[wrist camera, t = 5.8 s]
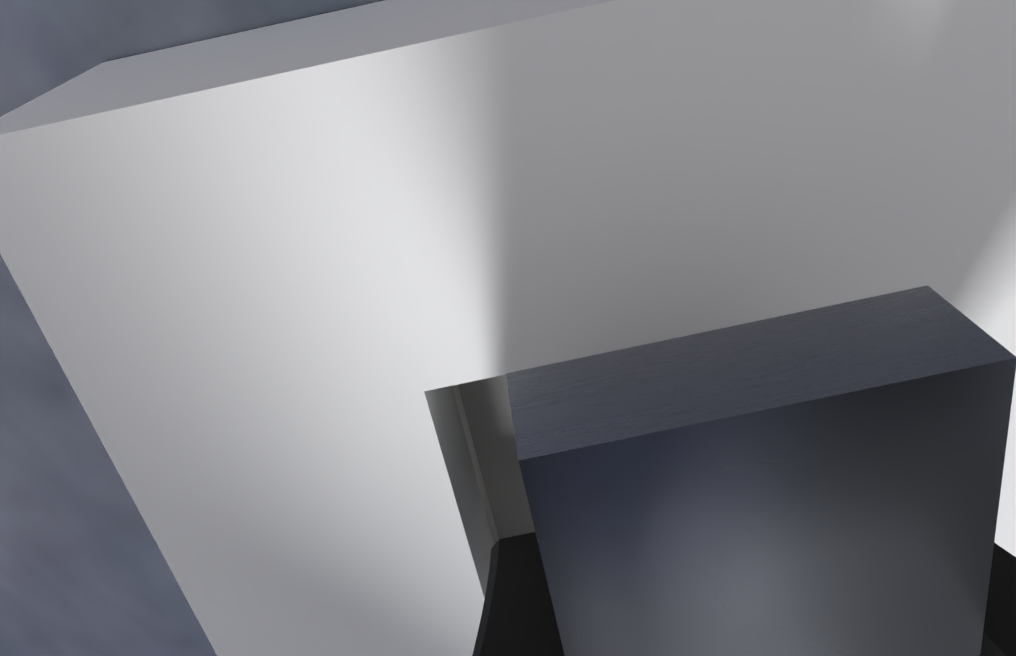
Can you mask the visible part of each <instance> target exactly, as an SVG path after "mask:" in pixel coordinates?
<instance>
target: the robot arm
mask: <svg viewBox="0 0 1016 656" xmlns="http://www.w3.org/2000/svg"><path fill="white" fill-rule="evenodd" d="M472 656H565V655H564V651H563V646H562V642H561V638H560V634H559V629H558V625H557V621H556V617H555V613H554V608H553V604H552V600H551V596H550V592H549V587H548V583H547V579H546V575H545V570H544V566H543V562H542V558H541V554H540V549H539V545H538V541H537V537H536V533H535V532H532V533H527V534H522V535H517V536H512V537H507V538H502V539H499V540H498V541H497V542H496V543H495V545H494V546H493V547H492V548H491V555H490V567H489V575H488V581H487V588H486V594H485V600H484V605H483V610H482V615H481V620H480V624H479V629H478V633H477V638H476V642H475V647H474V651H473V655H472ZM980 656H1016V557H1015V556H1013V555H1012V554H1011V553H1009V552H1008V551H1006V550H1005V549H1003V548H1002V547H1000V546H999V545H997V544H996V543H994V549H993V557H992V565H991V573H990V581H989V589H988V597H987V605H986V613H985V621H984V629H983V637H982V645H981V653H980Z"/></svg>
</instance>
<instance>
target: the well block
mask: <svg viewBox="0 0 1016 656" xmlns="http://www.w3.org/2000/svg"><path fill="white" fill-rule="evenodd" d="M0 254H1V256H2V258H3V260H4V262H5V264H6V266H7V267H8V269H9V271H10V273H11V275H12V277H13V279H14V280H15V282H16V284H17V286H18V288H19V290H20V292H21V293H22V295H23V297H24V299H25V301H26V303H27V304H28V306H29V308H30V310H31V312H32V314H33V316H34V317H35V319H36V321H37V323H38V325H39V327H40V329H41V330H42V332H43V334H44V336H45V338H46V340H47V342H48V343H49V345H50V347H51V349H52V351H53V353H54V355H55V356H56V358H57V360H58V362H59V364H60V366H61V367H62V369H63V371H64V373H65V375H66V377H67V379H68V380H69V382H70V384H71V386H72V388H73V390H74V392H75V393H76V395H77V397H78V399H79V401H80V403H81V405H82V406H83V408H84V410H85V412H86V414H87V416H88V417H89V419H90V421H91V423H92V425H93V427H94V429H95V430H96V432H97V434H98V436H99V438H100V440H101V442H102V443H103V445H104V447H105V449H106V451H107V453H108V455H109V456H110V458H111V460H112V462H113V464H114V466H115V468H116V469H117V471H118V473H119V475H120V477H121V479H122V480H123V482H124V484H125V486H126V488H127V490H128V492H129V493H130V495H131V497H132V499H133V501H134V503H135V505H136V506H137V508H138V510H139V512H140V514H141V516H142V518H143V519H144V521H145V523H146V525H147V527H148V529H149V531H150V532H151V534H152V536H153V538H154V540H155V542H156V543H157V545H158V547H159V549H160V551H161V553H162V555H163V556H164V558H165V560H166V562H167V564H168V566H169V568H170V569H171V571H172V573H173V575H174V577H175V579H176V581H177V582H178V584H179V586H180V588H181V590H182V592H183V593H184V595H185V597H186V599H187V601H188V603H189V605H190V606H191V608H192V610H193V612H194V614H195V616H196V618H197V619H198V621H199V623H200V625H201V627H202V629H203V631H204V632H205V634H206V636H207V638H208V640H209V642H210V644H211V645H212V647H213V649H214V651H215V653H216V655H217V656H472V655H473V651H474V647H475V642H476V638H477V633H478V629H479V624H480V620H481V615H482V610H483V605H484V600H485V594H486V588H487V581H488V575H489V567H490V555H491V548H492V547H493V546H494V545H495V543H496V542H497V541H498V540H499V539H502V538H507V537H512V536H517V535H522V534H527V533H532V532H535V528H534V524H533V520H532V516H531V512H530V507H529V503H528V499H527V495H526V490H525V486H524V482H523V478H522V474H521V469H520V465H519V461H518V454H517V448H516V441H515V434H514V427H513V420H512V413H511V407H510V400H509V393H508V386H507V379H506V373H510V372H515V371H520V370H525V369H529V368H534V367H539V366H544V365H549V364H553V363H558V362H563V361H568V360H573V359H577V358H582V357H587V356H592V355H596V354H601V353H606V352H611V351H616V350H620V349H625V348H630V347H635V346H640V345H644V344H649V343H654V342H659V341H663V340H668V339H673V338H678V337H683V336H687V335H692V334H697V333H702V332H707V331H711V330H716V329H721V328H726V327H731V326H735V325H740V324H745V323H750V322H754V321H759V320H764V319H769V318H774V317H778V316H783V315H788V314H793V313H798V312H802V311H807V310H812V309H817V308H821V307H826V306H831V305H836V304H841V303H845V302H850V301H855V300H860V299H865V298H869V297H874V296H879V295H884V294H889V293H893V292H898V291H903V290H908V289H912V288H917V287H922V286H927V285H928V286H929V287H930V288H932V289H933V290H934V291H935V292H937V293H938V294H939V295H940V296H942V297H943V298H944V299H945V300H946V301H948V302H949V303H950V304H951V305H953V306H954V307H955V308H956V309H958V310H959V311H960V312H961V313H963V314H964V315H965V316H966V317H968V318H969V319H970V320H971V321H972V322H974V323H975V324H976V325H977V326H979V327H980V328H981V329H982V330H984V331H985V332H986V333H987V334H989V335H990V336H991V337H992V338H993V339H995V340H996V341H997V342H998V343H1000V344H1001V345H1002V346H1003V347H1005V348H1006V349H1007V350H1008V351H1010V352H1011V353H1012V354H1013V355H1015V356H1016V0H384V1H379V2H375V3H370V4H366V5H361V6H357V7H352V8H348V9H343V10H339V11H334V12H330V13H325V14H320V15H316V16H311V17H307V18H302V19H298V20H293V21H289V22H284V23H280V24H275V25H270V26H266V27H261V28H257V29H252V30H248V31H243V32H239V33H234V34H230V35H225V36H220V37H216V38H211V39H207V40H202V41H198V42H193V43H189V44H184V45H180V46H175V47H170V48H166V49H161V50H157V51H152V52H148V53H143V54H139V55H134V56H130V57H125V58H121V59H116V60H111V61H107V62H103V63H101V64H99V65H97V66H95V67H93V68H91V69H89V70H88V71H86V72H84V73H82V74H80V75H78V76H76V77H74V78H72V79H71V80H69V81H67V82H65V83H63V84H61V85H59V86H57V87H55V88H54V89H52V90H50V91H48V92H46V93H44V94H42V95H40V96H39V97H37V98H35V99H33V100H31V101H29V102H27V103H25V104H23V105H22V106H20V107H18V108H16V109H14V110H12V111H10V112H8V113H6V114H5V115H3V116H1V117H0ZM994 543H996V544H997V545H999V546H1000V547H1002V548H1003V549H1005V550H1006V551H1008V552H1009V553H1011V554H1012V555H1013V556H1015V557H1016V372H1015V380H1014V388H1013V396H1012V404H1011V412H1010V420H1009V428H1008V436H1007V444H1006V452H1005V460H1004V468H1003V476H1002V484H1001V492H1000V500H999V508H998V516H997V524H996V532H995V541H994Z"/></svg>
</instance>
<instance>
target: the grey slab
mask: <svg viewBox="0 0 1016 656" xmlns="http://www.w3.org/2000/svg"><path fill="white" fill-rule="evenodd" d="M1015 372H1016V356H1015V355H1013V354H1012V353H1011V352H1010V351H1008V350H1007V349H1006V348H1005V347H1003V346H1002V345H1001V344H1000V343H998V342H997V341H996V340H995V339H993V338H992V337H991V336H990V335H989V334H987V333H986V332H985V331H984V330H982V329H981V328H980V327H979V326H977V325H976V324H975V323H974V322H972V321H971V320H970V319H969V318H968V317H966V316H965V315H964V314H963V313H961V312H960V311H959V310H958V309H956V308H955V307H954V306H953V305H951V304H950V303H949V302H948V301H946V300H945V299H944V298H943V297H942V296H940V295H939V294H938V293H937V292H935V291H934V290H933V289H932V288H930V287H929V286H928V285H927V286H922V287H917V288H912V289H908V290H903V291H898V292H893V293H889V294H884V295H879V296H874V297H869V298H865V299H860V300H855V301H850V302H845V303H841V304H836V305H831V306H826V307H821V308H817V309H812V310H807V311H802V312H798V313H793V314H788V315H783V316H778V317H774V318H769V319H764V320H759V321H754V322H750V323H745V324H740V325H735V326H731V327H726V328H721V329H716V330H711V331H707V332H702V333H697V334H692V335H687V336H683V337H678V338H673V339H668V340H663V341H659V342H654V343H649V344H644V345H640V346H635V347H630V348H625V349H620V350H616V351H611V352H606V353H601V354H596V355H592V356H587V357H582V358H577V359H573V360H568V361H563V362H558V363H553V364H549V365H544V366H539V367H534V368H529V369H525V370H520V371H515V372H510V373H506V379H507V386H508V393H509V400H510V407H511V413H512V420H513V427H514V434H515V441H516V448H517V454H518V461H519V465H520V469H521V474H522V478H523V482H524V486H525V490H526V495H527V499H528V503H529V507H530V512H531V516H532V520H533V524H534V528H535V533H536V537H537V541H538V545H539V549H540V554H541V558H542V562H543V566H544V570H545V575H546V579H547V583H548V587H549V592H550V596H551V600H552V604H553V608H554V613H555V617H556V621H557V625H558V629H559V634H560V638H561V642H562V646H563V651H564V655H565V656H980V653H981V645H982V637H983V629H984V621H985V613H986V605H987V597H988V589H989V581H990V573H991V565H992V557H993V549H994V541H995V532H996V524H997V516H998V508H999V500H1000V492H1001V484H1002V476H1003V468H1004V460H1005V452H1006V444H1007V436H1008V428H1009V420H1010V412H1011V404H1012V396H1013V388H1014V380H1015Z"/></svg>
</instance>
